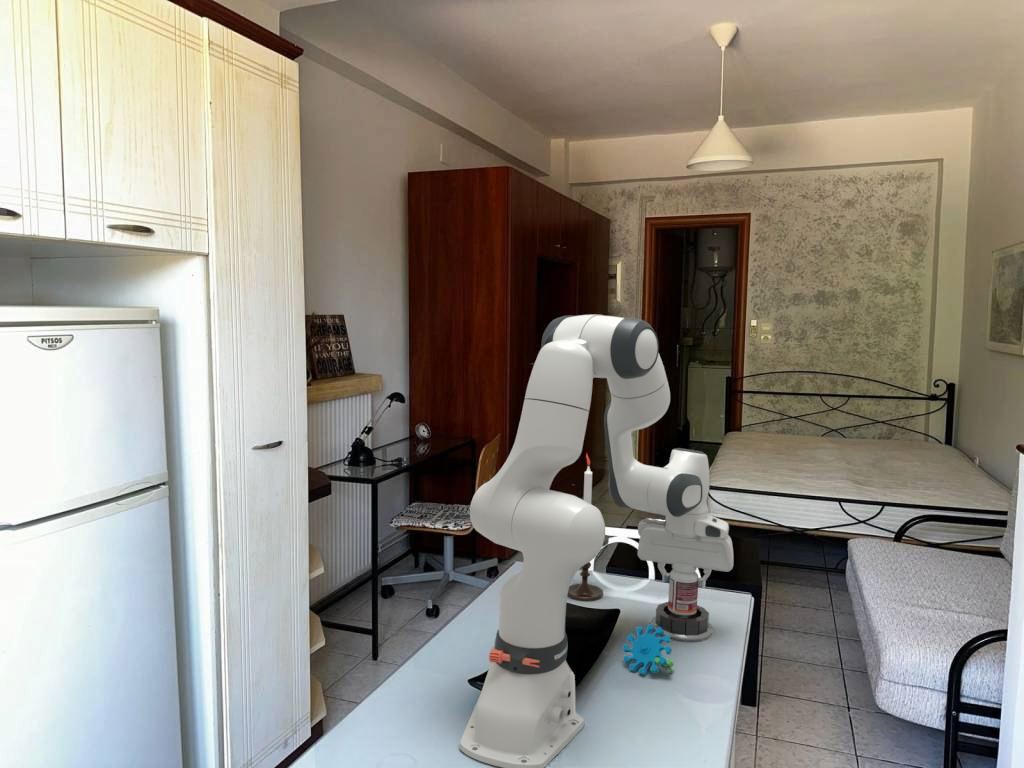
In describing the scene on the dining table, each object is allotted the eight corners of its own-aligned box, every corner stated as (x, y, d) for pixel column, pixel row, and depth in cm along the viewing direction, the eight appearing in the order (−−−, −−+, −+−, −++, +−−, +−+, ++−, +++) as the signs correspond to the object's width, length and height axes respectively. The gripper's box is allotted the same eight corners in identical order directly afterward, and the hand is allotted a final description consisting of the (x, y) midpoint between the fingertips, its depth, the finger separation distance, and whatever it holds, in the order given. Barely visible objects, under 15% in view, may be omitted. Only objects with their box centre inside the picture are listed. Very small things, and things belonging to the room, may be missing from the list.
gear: (611, 654, 141) (641, 613, 144) (623, 668, 144) (653, 628, 147) (651, 685, 132) (683, 641, 135) (664, 699, 135) (695, 656, 138)
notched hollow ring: (709, 646, 149) (710, 627, 149) (646, 635, 154) (647, 617, 153) (715, 622, 161) (715, 605, 161) (656, 613, 166) (657, 596, 165)
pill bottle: (702, 612, 157) (705, 562, 155) (683, 619, 153) (686, 567, 152) (680, 603, 161) (683, 554, 160) (661, 609, 158) (664, 558, 157)
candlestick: (553, 591, 178) (557, 451, 175) (585, 583, 184) (590, 448, 181) (582, 606, 169) (587, 459, 166) (615, 596, 175) (621, 455, 172)
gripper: (635, 520, 156) (633, 582, 157) (733, 532, 149) (730, 596, 150) (641, 513, 162) (638, 573, 163) (735, 524, 155) (732, 586, 156)
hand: (683, 584), depth 157 cm, fingers closed on pill bottle, 6 cm apart
